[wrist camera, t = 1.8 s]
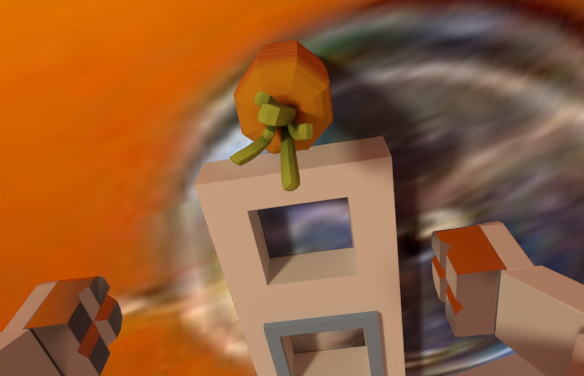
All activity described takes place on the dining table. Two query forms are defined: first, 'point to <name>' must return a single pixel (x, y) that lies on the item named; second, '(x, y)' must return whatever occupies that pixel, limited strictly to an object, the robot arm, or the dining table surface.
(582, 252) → the dining table surface
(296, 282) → the duct block
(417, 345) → the dining table surface
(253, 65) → the carrot
